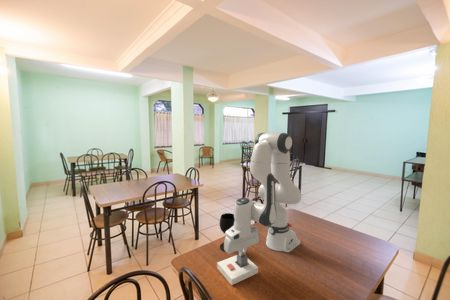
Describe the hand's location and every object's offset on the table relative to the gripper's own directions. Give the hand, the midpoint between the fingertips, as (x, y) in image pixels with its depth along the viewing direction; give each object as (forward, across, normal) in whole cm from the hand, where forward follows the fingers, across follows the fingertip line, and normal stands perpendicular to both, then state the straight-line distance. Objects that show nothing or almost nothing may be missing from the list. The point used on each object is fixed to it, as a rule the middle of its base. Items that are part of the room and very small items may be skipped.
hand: (242, 255), depth 108 cm
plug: (+7, 0, 0) cm, 7 cm away
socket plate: (+7, +3, 0) cm, 8 cm away
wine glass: (+8, -4, -20) cm, 22 cm away
